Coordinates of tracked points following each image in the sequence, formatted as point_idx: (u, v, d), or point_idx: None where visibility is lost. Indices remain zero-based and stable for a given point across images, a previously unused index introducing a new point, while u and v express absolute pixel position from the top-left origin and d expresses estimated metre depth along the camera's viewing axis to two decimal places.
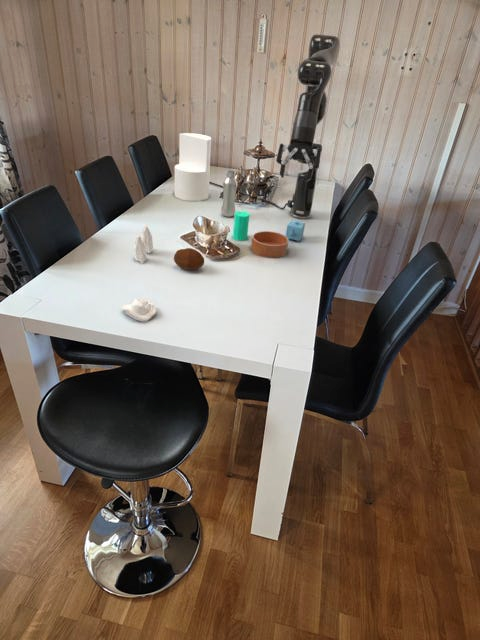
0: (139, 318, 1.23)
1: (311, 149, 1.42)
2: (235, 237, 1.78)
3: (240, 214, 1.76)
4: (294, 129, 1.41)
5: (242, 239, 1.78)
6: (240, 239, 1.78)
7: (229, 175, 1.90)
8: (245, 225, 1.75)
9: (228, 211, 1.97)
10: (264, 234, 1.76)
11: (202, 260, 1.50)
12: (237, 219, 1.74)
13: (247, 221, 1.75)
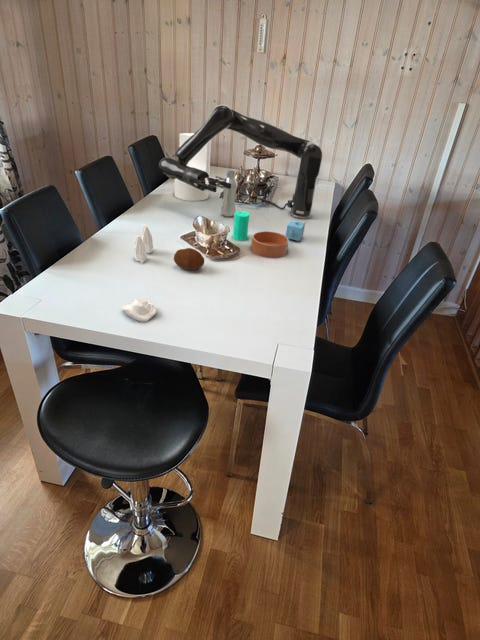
0: (139, 318, 1.23)
1: None
2: (235, 237, 1.78)
3: (240, 214, 1.76)
4: None
5: (242, 239, 1.78)
6: (240, 239, 1.78)
7: (229, 175, 1.90)
8: (245, 225, 1.75)
9: (228, 211, 1.97)
10: (264, 234, 1.76)
11: (202, 260, 1.50)
12: (237, 219, 1.74)
13: (247, 221, 1.75)
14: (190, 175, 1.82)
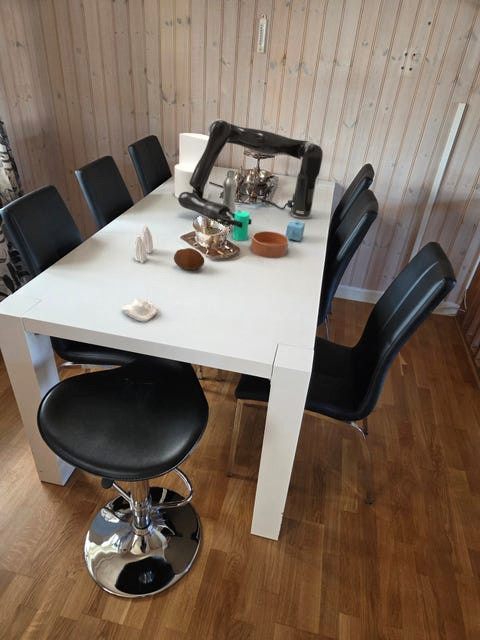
0: (139, 318, 1.23)
1: None
2: (235, 237, 1.78)
3: (240, 214, 1.76)
4: None
5: (242, 239, 1.78)
6: (240, 239, 1.78)
7: (229, 175, 1.90)
8: (245, 225, 1.75)
9: None
10: (264, 234, 1.76)
11: (202, 260, 1.50)
12: (237, 219, 1.74)
13: (247, 221, 1.75)
14: (211, 209, 1.81)
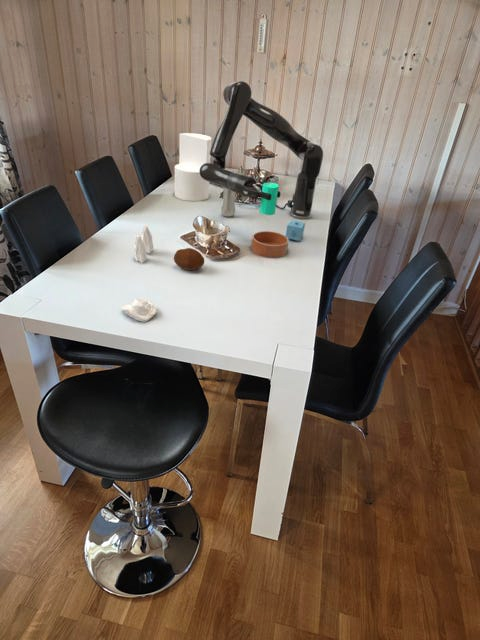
0: (139, 318, 1.23)
1: None
2: (262, 211, 1.64)
3: (268, 185, 1.61)
4: None
5: (270, 213, 1.64)
6: (268, 213, 1.64)
7: None
8: (274, 198, 1.61)
9: (228, 211, 1.97)
10: (264, 234, 1.76)
11: (202, 260, 1.50)
12: (265, 191, 1.60)
13: (276, 193, 1.61)
14: (236, 181, 1.67)
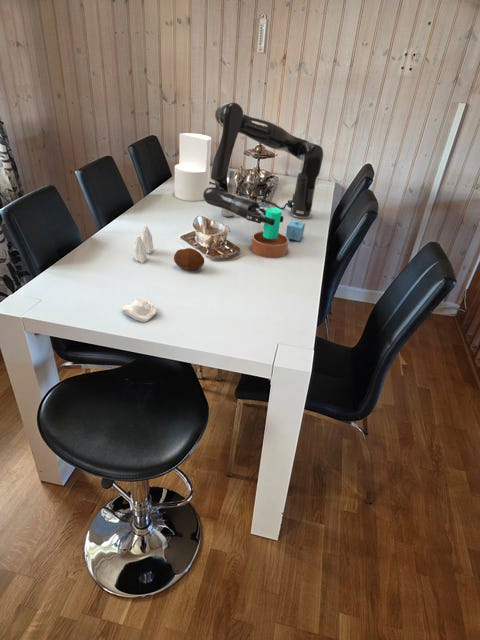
0: (139, 318, 1.23)
1: None
2: (265, 235, 1.67)
3: (271, 210, 1.65)
4: None
5: (273, 237, 1.67)
6: (271, 237, 1.67)
7: (229, 175, 1.90)
8: (277, 223, 1.64)
9: (228, 211, 1.97)
10: None
11: (202, 260, 1.50)
12: (269, 216, 1.63)
13: (279, 218, 1.64)
14: (240, 205, 1.70)
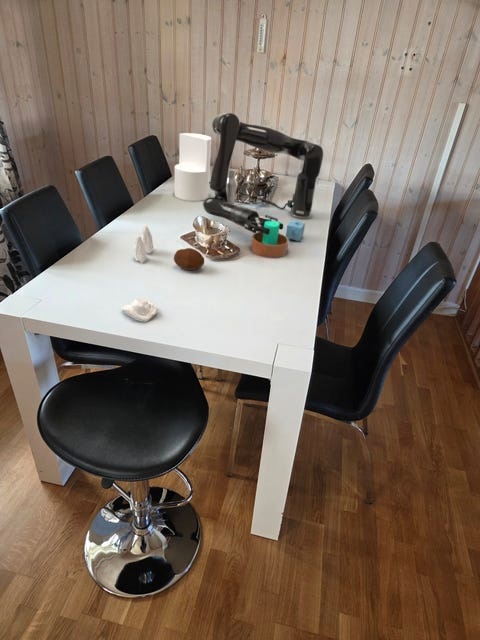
0: (139, 318, 1.23)
1: None
2: None
3: (270, 223, 1.68)
4: None
5: None
6: None
7: (229, 175, 1.90)
8: (275, 235, 1.67)
9: None
10: None
11: (202, 260, 1.50)
12: None
13: (277, 231, 1.67)
14: (239, 215, 1.72)
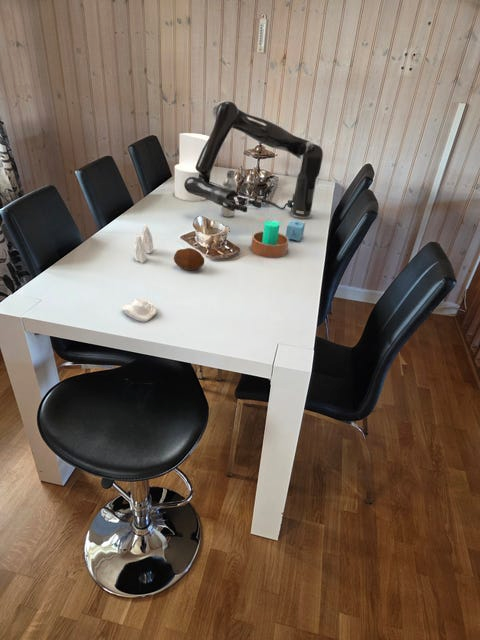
0: (139, 318, 1.23)
1: None
2: None
3: (270, 223, 1.68)
4: None
5: None
6: None
7: (229, 175, 1.90)
8: (275, 235, 1.67)
9: (228, 211, 1.97)
10: None
11: (202, 260, 1.50)
12: (267, 229, 1.66)
13: (277, 231, 1.67)
14: (218, 194, 1.76)
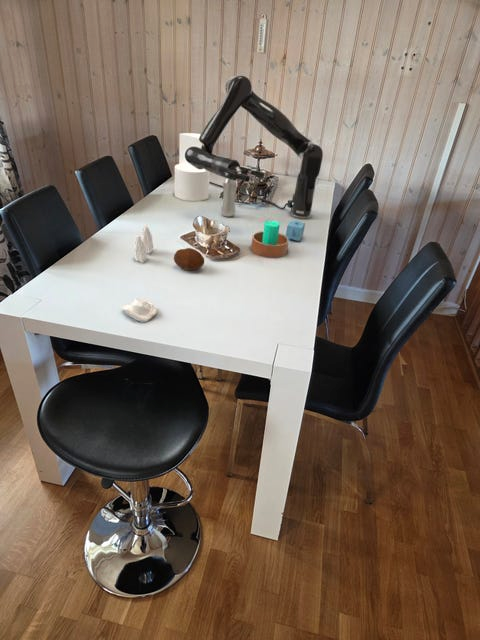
0: (139, 318, 1.23)
1: None
2: None
3: (270, 223, 1.68)
4: None
5: None
6: None
7: None
8: (275, 235, 1.67)
9: (228, 211, 1.97)
10: None
11: (202, 260, 1.50)
12: (267, 229, 1.66)
13: (277, 231, 1.67)
14: (220, 164, 1.69)
